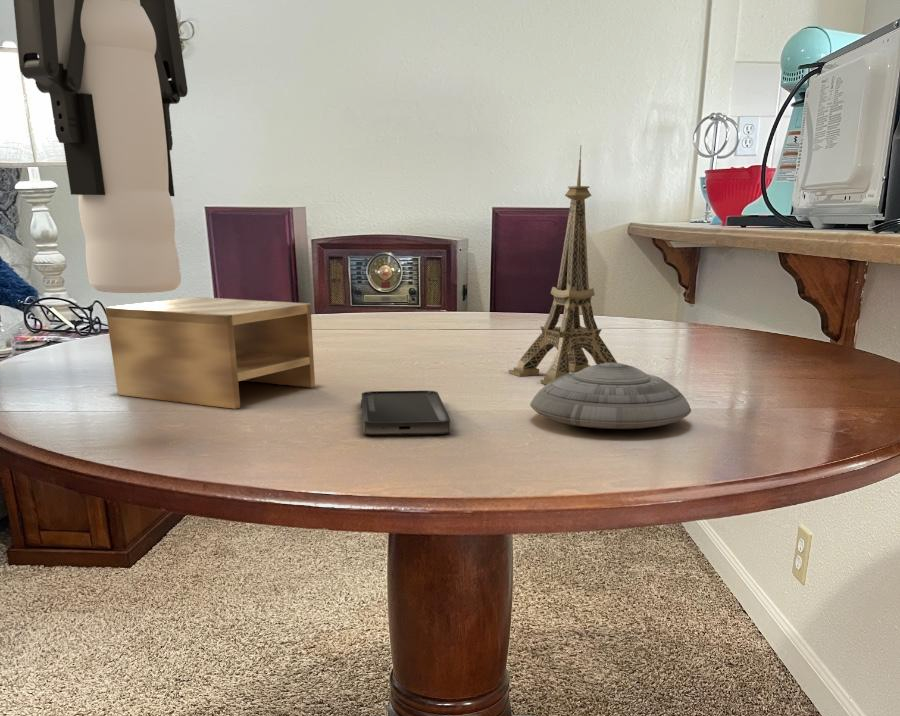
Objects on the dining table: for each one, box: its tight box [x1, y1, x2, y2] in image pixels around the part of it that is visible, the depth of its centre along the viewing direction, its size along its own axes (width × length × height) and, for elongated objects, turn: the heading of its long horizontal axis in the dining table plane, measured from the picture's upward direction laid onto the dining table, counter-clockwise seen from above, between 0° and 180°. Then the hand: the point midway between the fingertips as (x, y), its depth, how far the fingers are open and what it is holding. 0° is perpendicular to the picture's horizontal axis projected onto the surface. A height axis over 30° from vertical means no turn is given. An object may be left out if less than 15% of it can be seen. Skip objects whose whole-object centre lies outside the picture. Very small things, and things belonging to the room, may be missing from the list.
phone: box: [360, 390, 451, 436], centre depth 85 cm, size 8×1×15 cm
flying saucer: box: [529, 362, 692, 430], centre depth 83 cm, size 15×15×6 cm
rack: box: [105, 296, 316, 410], centre depth 96 cm, size 16×14×9 cm
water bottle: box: [77, 0, 182, 294], centre depth 67 cm, size 7×7×25 cm
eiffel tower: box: [508, 144, 618, 385], centre depth 102 cm, size 11×11×25 cm
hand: (124, 194), depth 69 cm, fingers closed on water bottle, 7 cm apart
